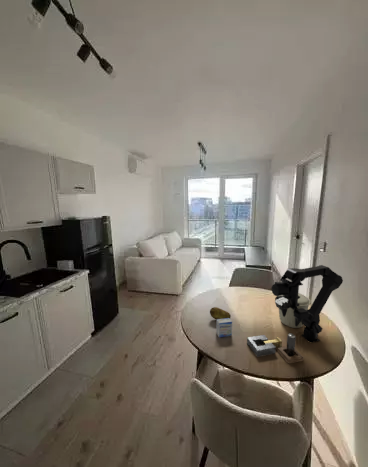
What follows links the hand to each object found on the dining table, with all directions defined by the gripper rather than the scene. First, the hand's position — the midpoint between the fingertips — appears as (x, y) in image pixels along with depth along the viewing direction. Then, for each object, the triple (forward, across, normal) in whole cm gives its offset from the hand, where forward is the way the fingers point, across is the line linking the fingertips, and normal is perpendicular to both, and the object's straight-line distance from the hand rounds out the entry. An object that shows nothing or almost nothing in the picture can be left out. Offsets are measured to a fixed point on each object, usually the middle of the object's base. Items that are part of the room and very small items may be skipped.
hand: (289, 321), depth 112 cm
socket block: (+12, +1, -17) cm, 21 cm away
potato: (+13, -28, -28) cm, 42 cm away
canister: (+13, -15, +14) cm, 24 cm away
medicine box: (+13, -14, -31) cm, 36 cm away
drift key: (+12, +1, -11) cm, 17 cm away
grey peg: (+12, +9, -6) cm, 16 cm away
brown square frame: (+12, +9, -6) cm, 16 cm away
